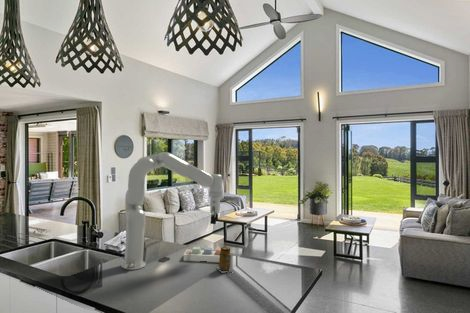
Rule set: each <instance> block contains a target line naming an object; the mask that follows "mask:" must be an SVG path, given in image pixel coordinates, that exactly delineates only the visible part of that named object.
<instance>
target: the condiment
mask: <svg viewBox="0 0 470 313" xmlns="http://www.w3.org/2000/svg"><path fill="white" fill-rule="evenodd" d="M220 248H221V252H220V260H219V262H218V263H219V264H218V265H219V266H218V268H219V270H221V271H229V270H230V269H231V257H232V255H231V248H230V247H228V246H222V247H220ZM233 273H234V271H233V272H232V273H231V274H233Z"/></svg>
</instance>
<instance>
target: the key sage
mask: <svg viewBox="0 0 470 313" xmlns="http://www.w3.org/2000/svg"><path fill="white" fill-rule="evenodd" d="M191 250H192V254H200V250H202V248H201V247H200V246H193V247H192V249H191Z"/></svg>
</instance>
